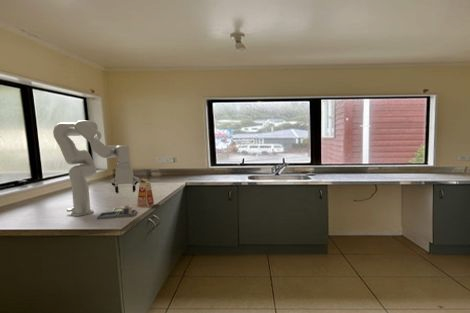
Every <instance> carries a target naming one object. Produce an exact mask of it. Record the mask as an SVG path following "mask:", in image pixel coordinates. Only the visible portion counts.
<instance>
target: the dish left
mask: <svg viewBox="0 0 470 313" xmlns="http://www.w3.org/2000/svg"><path fill="white" fill-rule="evenodd" d="M118 213H119V211H116V212H111V211H107V212H106V211H105V212H101V213H100V214H98V216H97V217H96V218H97V219H96V220H104V219H115V218H117V215H118Z"/></svg>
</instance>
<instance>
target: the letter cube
mask: <svg viewBox="0 0 470 313" xmlns="http://www.w3.org/2000/svg"><path fill="white" fill-rule="evenodd" d="M121 207H122V215H125V214H132V210H133V207H132V204H130V205H122V206H121Z"/></svg>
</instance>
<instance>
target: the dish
mask: <svg viewBox="0 0 470 313" xmlns="http://www.w3.org/2000/svg"><path fill="white" fill-rule="evenodd" d="M122 207H123V206H119V207H117V206H116V207H114V208H113V209H112V210H111V211H110V212H116V211H119V212H120V211H122Z"/></svg>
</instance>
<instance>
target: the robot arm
mask: <svg viewBox="0 0 470 313" xmlns="http://www.w3.org/2000/svg"><path fill="white" fill-rule="evenodd" d="M98 129H99V127H98V124H97V123H96V122H95V121H93V120H85V119H83V120H77V121H76V122H59V123H57V124H56V125H55V126H54V128H53V132H52V133H53V138H54V140H55V142H56V143H57V146H58V147H59V148H60V152H61V154H62V156H63V158H64V160H65V162H66V163H67V164H68V165H69V166H70V165H74V166H72V167H71V168H70V169H69V170H68V177H69V181H70V184H71V191H72V192H71V194H72V204H73V206H72V207H69V208H66V212H67V213H68V212H69V213H70V212H71V213H70V215H71V216H73V217H80V216H87V215H90V214H92V213H94V209H93V208H91V201H90V199H91V198H90V187H89V183H88V181H87V180H88V179H91V178H93V177H95V176H96V174H97V168H96V165H95V163H94V159H93V158H92V156H91V154H90V152H89V151H87V150H85V149H83V148H82V149H81V148H80V149H78V148H77V146H76V144H75V143H74V141H73V140H72V139H71V138H70V137H78V136H79V137H80V136H82V137H83V138H84V139H86V141H88V142H89V145H90V147H91V150H92V151H93V152H94V153H96V154H97V155H98V156H99V157H101V158H103V159H111V158H116V162H117V163H114V167H116V168H115V177H113V178H111V179H109V182H110V184H111V185H112V186H113V187H114V190H115V194H119V192H120V191H119V185H127V184H129V185H130V184H131V185H132V192H133V193H135V192H136V191H137V190H136V189H137V188H136V185H137V184H138V183H139V181H140V180H141V179H140V177H138V176H135V175H134V171H133V167H132V166H131V154H130V146H129V145H126V144H124V145H121V144H120V145H116V144H112V145H111V144H110V145H105V144H104V143H103V142H102V141H101V139H102V133H101V132H100V131H99V130H98ZM134 180H135V181H134ZM114 181H115V182H114Z"/></svg>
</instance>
